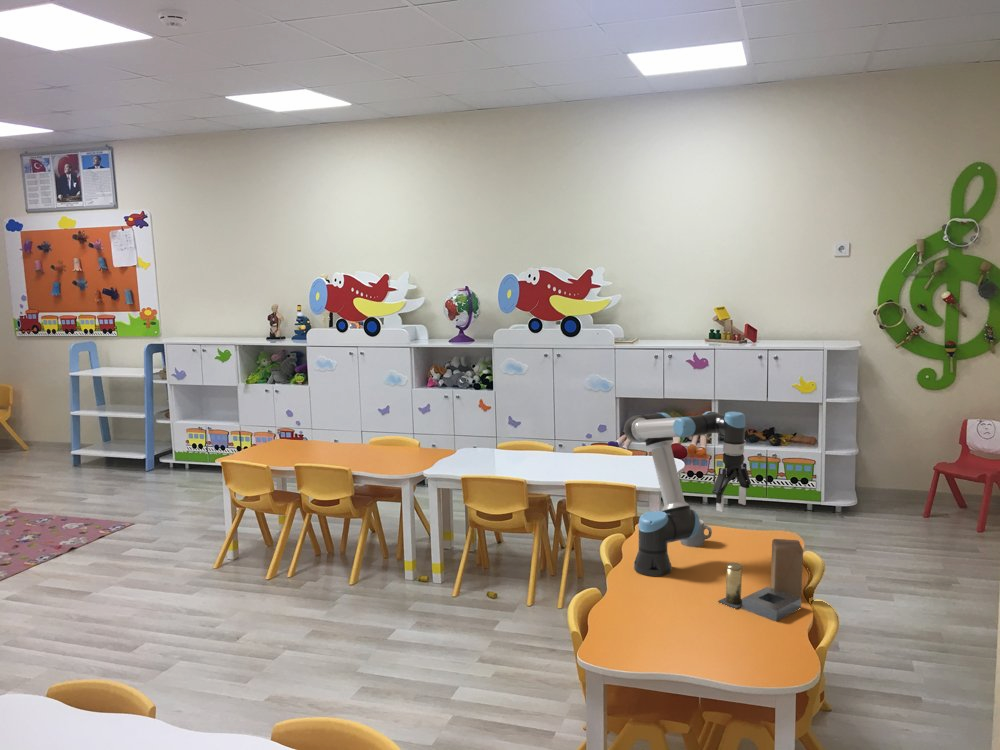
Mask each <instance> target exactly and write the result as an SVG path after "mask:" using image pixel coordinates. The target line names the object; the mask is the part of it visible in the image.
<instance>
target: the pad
mask: <svg viewBox="0 0 1000 750" xmlns="http://www.w3.org/2000/svg"><path fill="white" fill-rule="evenodd" d="M718 602H719V603H718ZM717 603H718V604H720V603H722V604H721V605H723V604H725V605H724V606H726V605H727V606H726V607H728V606H729V607H728V608H731V607H732V608H731V609H734V608H735V609H734V610H738V609H740V608H742V598H741V603H740V604H729V603H727V602H726V597H724V598H721V599H719V600H718V601H717Z"/></svg>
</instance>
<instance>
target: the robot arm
mask: <svg viewBox="0 0 1000 750" xmlns="http://www.w3.org/2000/svg"><path fill="white" fill-rule="evenodd" d="M746 424H747V423H746V415H745V414H744V413H743V412H740V411H727V412H725V413H724V414H722V413H719V412H716V411H710V410H709V411H705V412H704V413H702V414H700V415H690V416H680V417H677V416H676V417H672V416H671V415H669V414H668V413H666V412H653V413H646V414H640V415H639V414H637V415H633V416H631V417H630V418H628V419H627V420H626V421H625V423H624V425H623V426H624V427H623V432H624V436H625V437H626V438H627V439H628V440H629V441H630V442H633V443H645V446H646V448H647V449H648V450H650V452H651V455H652V460H653V464H654V467H655V468H654V469H655V472H656V476H657V480H658V485H659V489H660V493H661V498H662V501H663V505H664V506H663V508H662V509H661V510H655V511H654V510H651V511H646V512H644V513H642V514H641V515H640V517H639V520H638V526H637V528H638V551H637V554H636V557H635V560H634V562H633V569H634V571H635V572H636V573H638V574H641V575H643V576H650V577H661V576H666V575H669V574H670V573H671V572H672V563H671V559H670V557H669V554H668V553H669V552H668V544H670V543H673V542H674V543H675V542H678V541H679V542H681V540H686V539H689V538H692V537H694V536H695V535H696V534H697V532H698V530H699V526H700V522H699V519H700V518H699V515H698V513H697V512H696V511H695V510H694V509H692V508H691V506H690V504H689V503H688V502H686V500H685V498H684V493H683V489H682V485H681V481H680V477H679V473H678V469H677V465H676V464H677V463H676V461H675V456H674V452H673V449H672V444H673V443H674V439H673V438H677V437H678V438H689V437H695V436H696V437H697V436H703V435H709V434H718V435H722V436H723V444H722V445H723V447H722V452H723V453H722V462H723V465H724V467H723V468H722V467H719V468H718V473H717V477H716V479H715V483H714V485H713V489H712V494H714V495H716V496H715V497H716V498H715V503H716V504H715V505H716V508H715V511H717V512H721V513H723V512H724V506H725V505H724V504H725V503H724V502H725V495H724V493H725V490H726V489H727V487H728V485H729V482H730V481H732V479H734V478H736V480H737V482H738V483H739V485H740V486H738V488H739V489H738V504H740V505H743V506H746V502H747V489H749V488H750V487H751V485H752V483H751V480H750V476H749V472H748V468H747V467H748V466H747V464H748V463H746V462H744V461H745V460H744V459H745V456H744V453H745V438H746V437H745V436H746V435H745V434H746V426H747V425H746Z"/></svg>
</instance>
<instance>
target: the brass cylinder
mask: <svg viewBox="0 0 1000 750" xmlns="http://www.w3.org/2000/svg"><path fill="white" fill-rule="evenodd" d="M742 571H743V565H742V564H741V563H738V562H728V563H727V564H726V575H725V576H726V577H725V578H726V581H725V582H726V584H725V598H726V602H727V603H729V604H740V603H741V599H742V576H743V575H742V574H743V573H742Z"/></svg>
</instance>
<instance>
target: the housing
mask: <svg viewBox="0 0 1000 750" xmlns="http://www.w3.org/2000/svg"><path fill="white" fill-rule="evenodd" d="M741 599H742V607H741V609H742V610H744V611H747V612H750V613H751V614H755V615H757V616H761V617H762V618H765V619H768V620H772V621H774V622H776V623H777V622H778V621H780V620H782V619H785V617H788V616H790V615H792V614H793V612H794V613H795V611H796V610H797V611H799V610H800V609H799V608H801V607H802V597H801V598H799V597H796V596H793V595H790V594H787V593H784V592H781V591H778V590H775V589H773V588H771V586H764V587H762V588H761V589H759V590H756V591H755V592H753V593H751V594H749V595H746V596H744V597H743V598H742V597H741ZM798 609H799V610H798ZM801 609H802V608H801ZM797 611H796V612H797ZM791 613H792V614H791ZM789 614H790V615H789Z"/></svg>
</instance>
